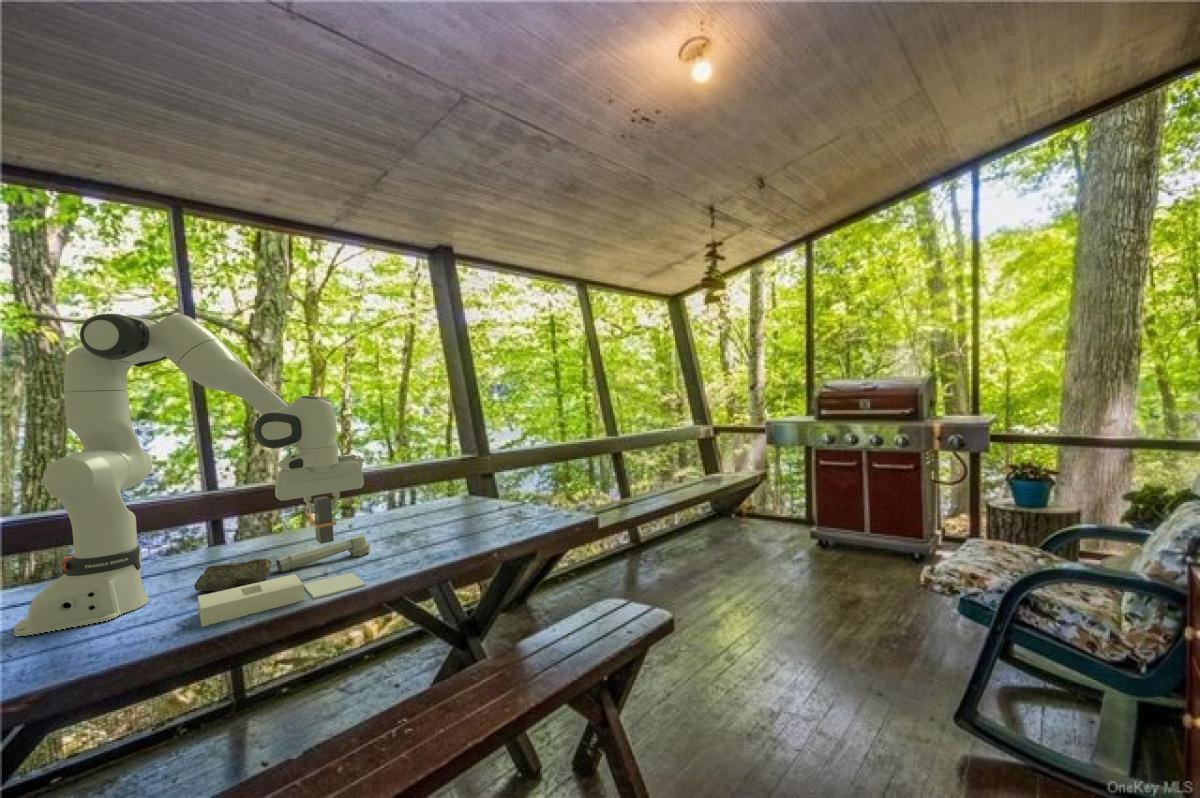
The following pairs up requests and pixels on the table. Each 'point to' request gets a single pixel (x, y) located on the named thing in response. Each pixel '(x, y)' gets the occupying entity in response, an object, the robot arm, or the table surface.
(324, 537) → the plug
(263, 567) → the rock
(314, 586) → the mat
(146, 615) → the table surface
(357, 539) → the beige flashlight
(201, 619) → the block
